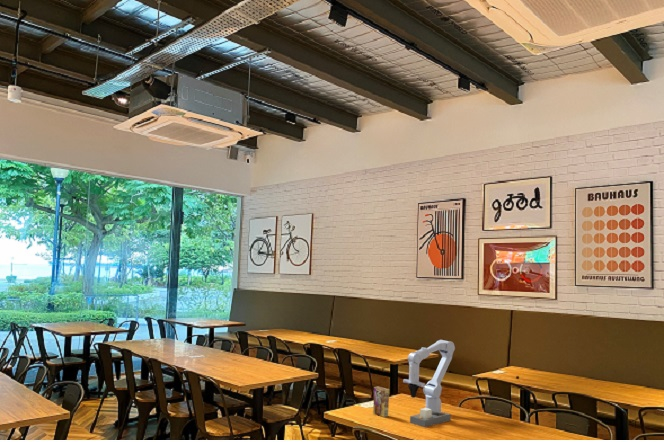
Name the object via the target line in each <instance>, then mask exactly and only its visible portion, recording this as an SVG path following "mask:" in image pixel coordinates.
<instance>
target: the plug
mask: <svg viewBox="0 0 664 442" xmlns="http://www.w3.org/2000/svg"><path fill="white" fill-rule="evenodd" d="M419 414H420V417H423V418H424V419H428V418H431V417H432V409H429V408H426V407H423V408H420V409H419Z"/></svg>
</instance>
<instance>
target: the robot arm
mask: <svg viewBox="0 0 664 442" xmlns="http://www.w3.org/2000/svg"><path fill="white" fill-rule="evenodd" d="M455 350H456V347H455V344H454V342H453V341H451V340H449V341H448V340H443V339H439V340H436V342H435V343H433V344H431V345H430V346H428V347H421V348H420V349H418V350H415V352H410V353H409V354H408V356H407V361H408V365H409V368H408V372H409V373H408V379H407V378H404V379H403V381H402V383H404V384H408V385H407V387H408V389H409V392H410V397H411V398H412V399H413V398H416V396H417V392H418V390H419V388H420V387H421V388H423V389H422V391H423V394H424V396H425V408H429V409H432V411H435V410H437V411H441V412H442V400H441V398H440V397H441V395H442V389H443V387H442V385H441V383H442V381H443V378H444V376H445V375H446V372H447V370H448V367H449V365H450V363H451V361H452V360H453V355H454V351H455ZM436 351H439V353H440V355H441V359H440V361H439V364H438V365H437V368H436V370H435V372H434V374H433V376H432V378H431V380H429V381H427V383H426V384H425V382H421V381H420V363H422V360H425V359H426V358H428V357H429V356H430V354H432V353H435V352H436Z"/></svg>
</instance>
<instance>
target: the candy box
mask: <svg viewBox="0 0 664 442" xmlns="http://www.w3.org/2000/svg"><path fill="white" fill-rule="evenodd" d="M389 403H390V389H389V388H385V387H382V386H373V404H372V405H373V408H372V414H373V415H376V416H380V417H382V418H385V417H389V406H390V404H389Z"/></svg>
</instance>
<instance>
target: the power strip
mask: <svg viewBox="0 0 664 442" xmlns="http://www.w3.org/2000/svg"><path fill="white" fill-rule="evenodd" d="M451 419H452V418H451V414H450V413H448V412H445V411H442V410H441V411H437V410H435V411H432V417H431V418H428V419H424V418H423V417H420V413H419V414H414V415H410V417H409V423H410V424H413V425H416V426H420V427H423V428H426V427H431V426H435V425H438V424H442V423H446V422H451Z"/></svg>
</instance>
